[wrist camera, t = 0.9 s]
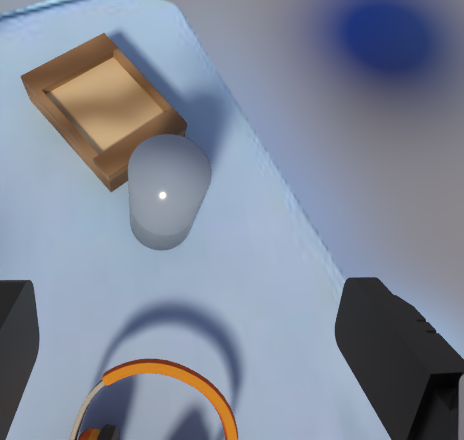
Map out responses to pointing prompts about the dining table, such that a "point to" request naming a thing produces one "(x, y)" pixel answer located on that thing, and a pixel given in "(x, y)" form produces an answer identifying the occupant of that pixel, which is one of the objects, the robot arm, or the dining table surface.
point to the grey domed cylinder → (166, 189)
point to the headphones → (109, 434)
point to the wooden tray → (101, 106)
